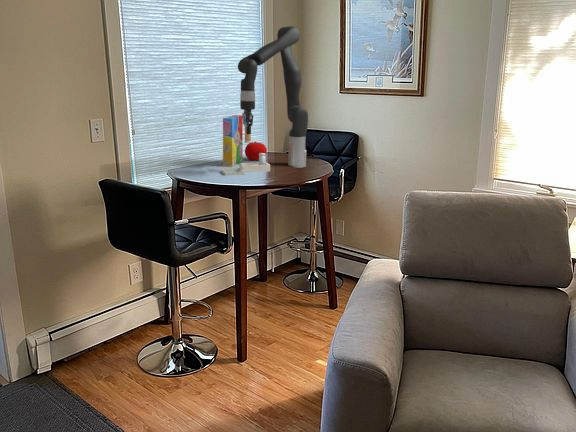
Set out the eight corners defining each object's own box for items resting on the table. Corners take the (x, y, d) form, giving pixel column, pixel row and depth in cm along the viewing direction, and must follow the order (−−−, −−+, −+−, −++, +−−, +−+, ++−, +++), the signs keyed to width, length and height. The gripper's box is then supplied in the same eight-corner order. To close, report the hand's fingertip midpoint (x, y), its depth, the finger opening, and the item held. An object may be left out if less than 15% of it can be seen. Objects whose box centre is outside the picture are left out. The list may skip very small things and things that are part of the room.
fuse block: (266, 170, 294) (266, 162, 292) (270, 173, 287) (270, 164, 286) (239, 171, 289) (239, 163, 288) (242, 174, 283) (242, 165, 281)
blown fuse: (250, 141, 284) (250, 124, 282) (251, 142, 281) (251, 125, 279) (243, 142, 283) (243, 124, 281) (245, 143, 280) (245, 125, 278)
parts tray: (239, 172, 286) (239, 168, 286) (244, 176, 277) (244, 171, 277) (221, 173, 283) (221, 168, 283) (225, 177, 274) (225, 172, 274)
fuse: (264, 169, 291) (264, 152, 289) (265, 170, 288) (266, 154, 286) (258, 169, 290) (258, 153, 288) (259, 171, 287) (260, 154, 284)
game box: (232, 168, 297) (232, 118, 289) (222, 168, 298) (222, 118, 290) (242, 162, 316) (242, 115, 309) (233, 161, 317) (233, 114, 310)
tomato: (242, 158, 327) (242, 140, 323) (262, 157, 332) (262, 139, 329) (249, 162, 316) (249, 143, 313) (269, 161, 322) (270, 142, 319)
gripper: (258, 100, 271) (258, 135, 276) (251, 98, 284) (251, 131, 289) (243, 100, 269) (244, 135, 273) (237, 98, 281) (237, 132, 286)
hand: (247, 133), depth 281 cm, fingers closed on blown fuse, 3 cm apart
